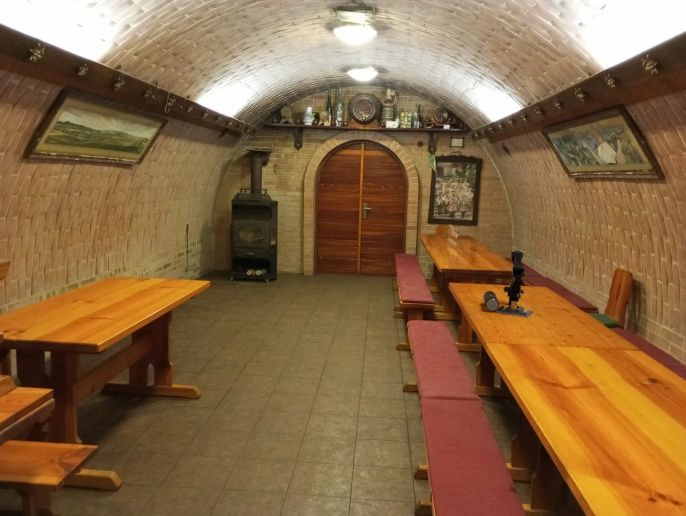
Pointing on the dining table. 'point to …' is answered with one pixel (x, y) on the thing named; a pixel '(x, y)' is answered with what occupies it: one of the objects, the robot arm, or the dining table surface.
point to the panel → (515, 313)
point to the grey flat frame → (510, 311)
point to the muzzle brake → (491, 301)
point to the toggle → (513, 304)
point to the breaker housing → (519, 309)
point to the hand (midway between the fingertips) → (515, 305)
